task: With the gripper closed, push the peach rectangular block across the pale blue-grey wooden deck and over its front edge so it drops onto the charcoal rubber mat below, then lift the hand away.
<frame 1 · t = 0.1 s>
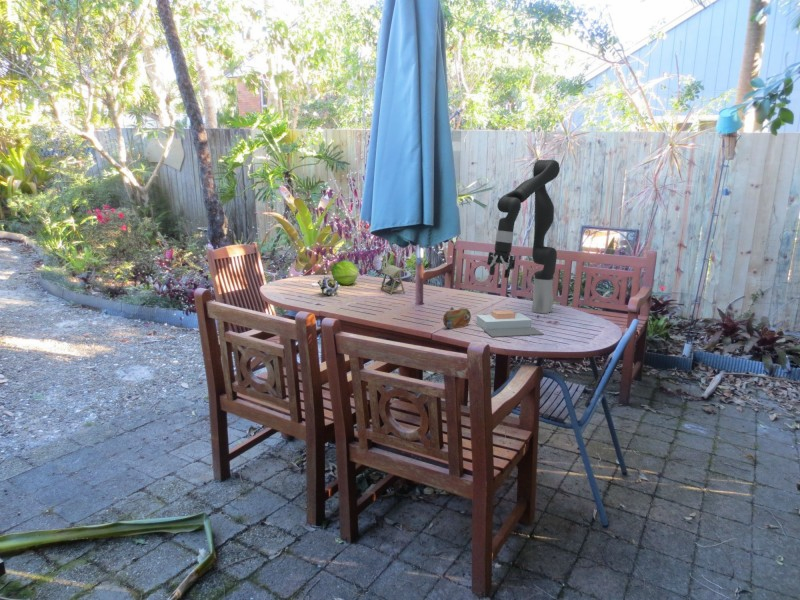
hand: (498, 276, 248), 22 cm above the table, fingers open, 8 cm apart
peach rectangular block: (503, 317, 249), point 4 cm above the table, touching deck
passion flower: (328, 295, 307), on the table
deck: (503, 325, 249), on the table
mat: (513, 332, 238), on the table
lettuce: (345, 284, 336), on the table
tin: (456, 327, 247), on the table
swing bench: (392, 292, 317), on the table
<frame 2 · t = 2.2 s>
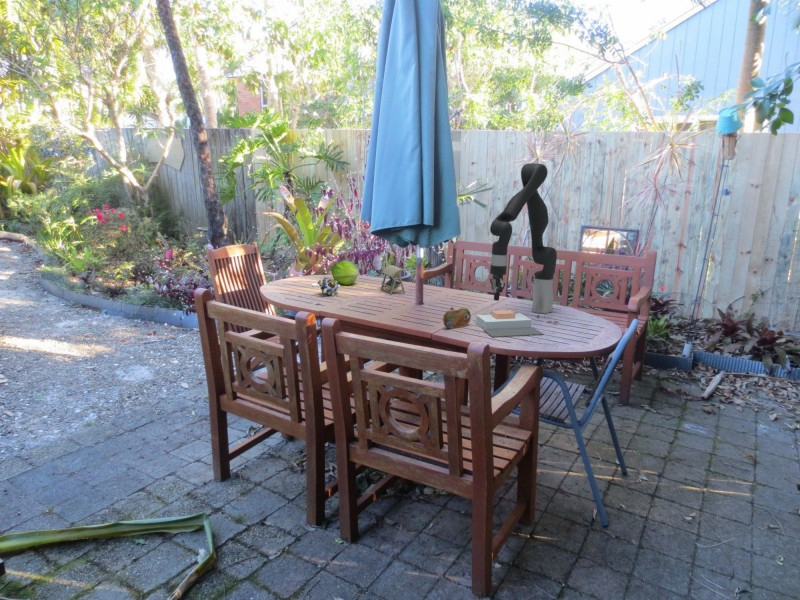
hand: (496, 300, 256), 10 cm above the table, fingers closed
nothing on the table moved.
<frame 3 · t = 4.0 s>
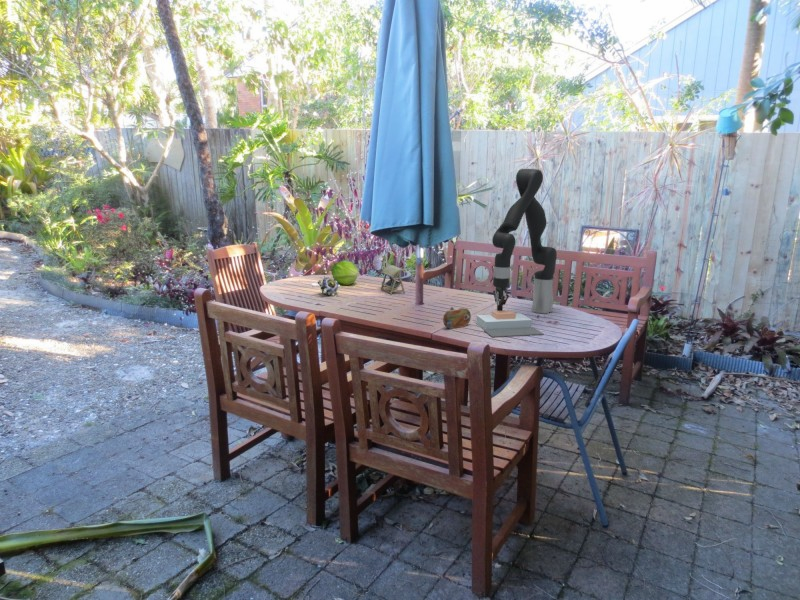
hand: (499, 312, 252), 5 cm above the table, fingers closed
peach rectangular block: (503, 317, 248), point 4 cm above the table, touching deck, gripper
everything else where it was.
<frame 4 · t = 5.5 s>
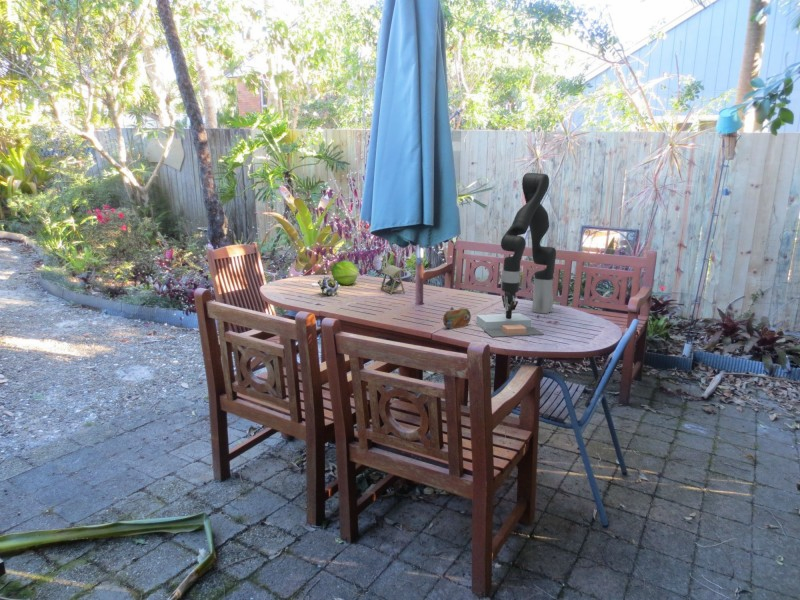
hand: (508, 318, 242), 5 cm above the table, fingers closed
peach rectangular block: (514, 326, 237), point 3 cm above the table, tilted 180°, touching mat
everything else where it was.
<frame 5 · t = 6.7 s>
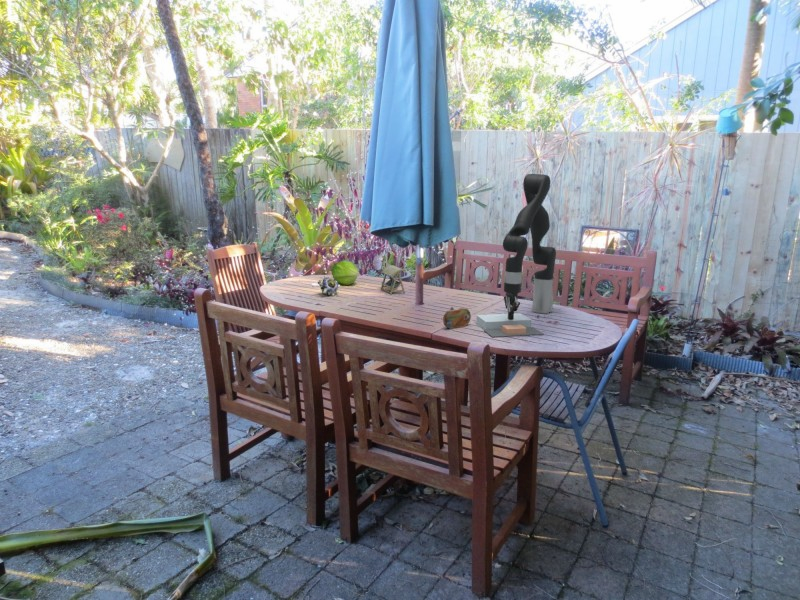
hand: (510, 319, 241), 5 cm above the table, fingers closed
nothing on the table moved.
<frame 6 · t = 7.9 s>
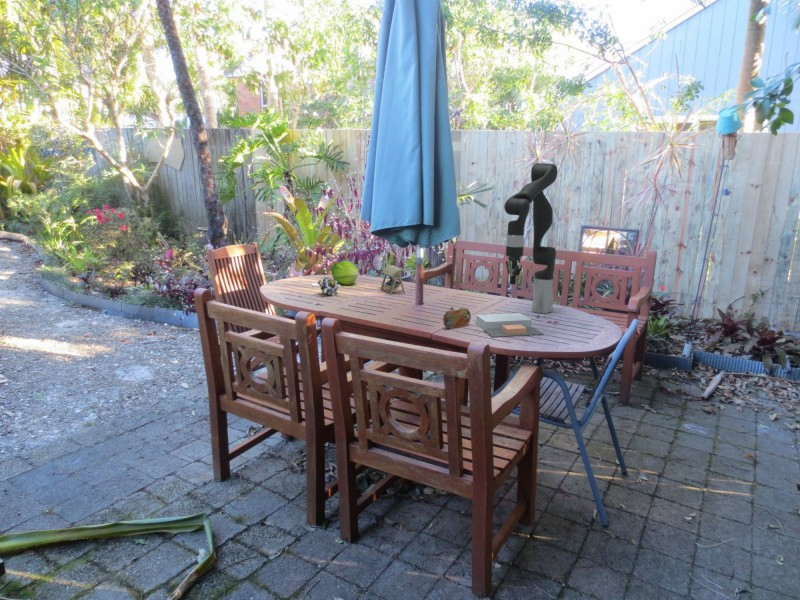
hand: (512, 283, 239), 21 cm above the table, fingers closed
nothing on the table moved.
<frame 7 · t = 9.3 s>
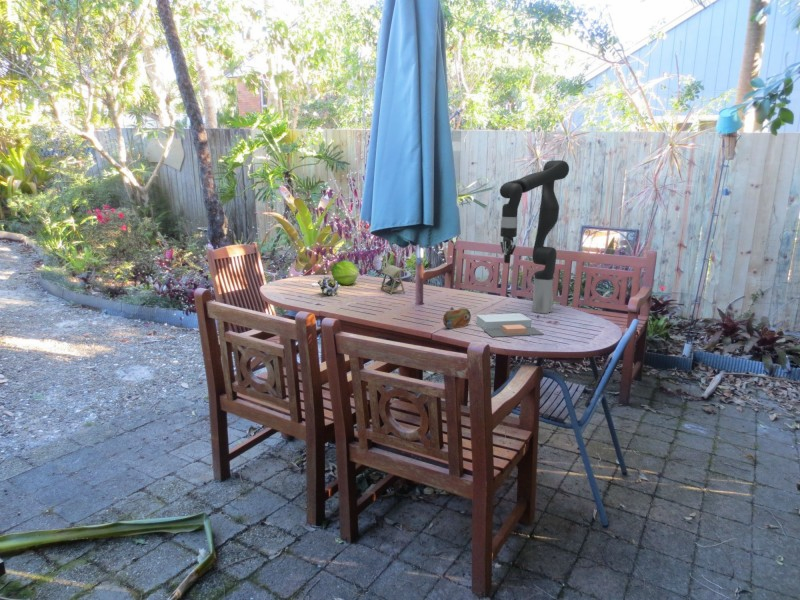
hand: (506, 262, 257), 27 cm above the table, fingers closed
nothing on the table moved.
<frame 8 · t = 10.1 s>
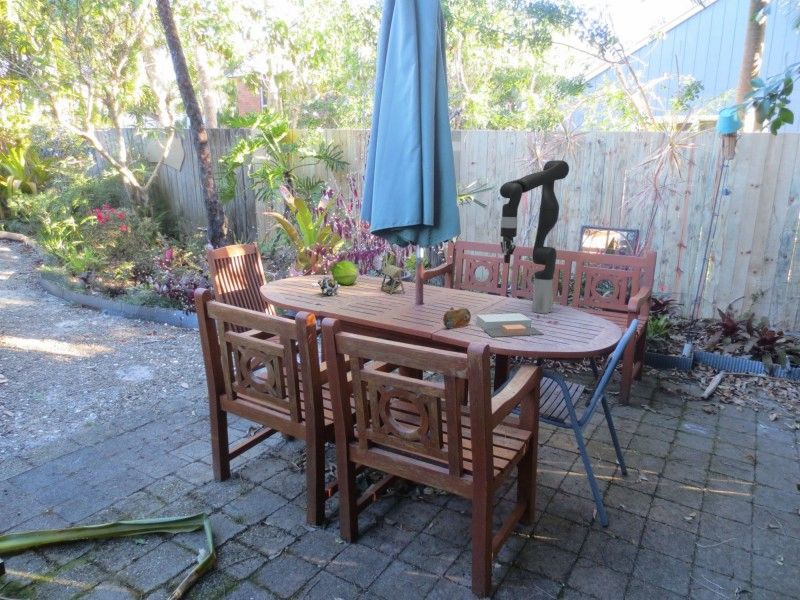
hand: (506, 262, 257), 27 cm above the table, fingers closed
nothing on the table moved.
at the end: peach rectangular block inside the target area on the mat (0.3 cm from its centre), point 3.0 cm above the mat's base; peach rectangular block moved 12.6 cm from its start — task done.
